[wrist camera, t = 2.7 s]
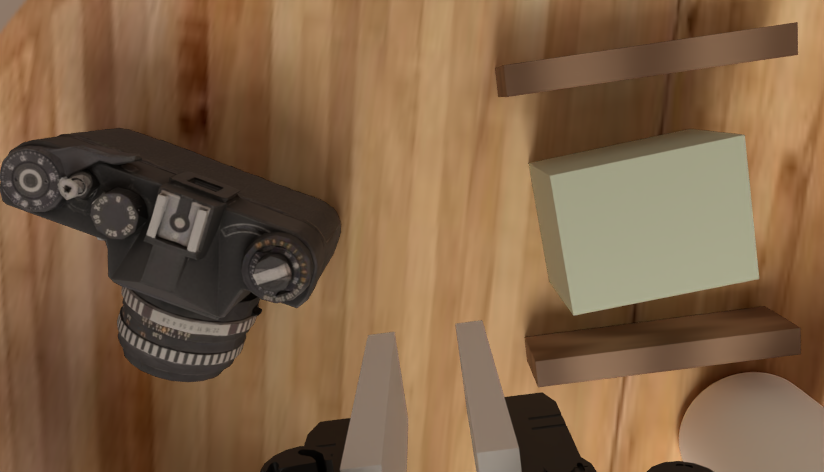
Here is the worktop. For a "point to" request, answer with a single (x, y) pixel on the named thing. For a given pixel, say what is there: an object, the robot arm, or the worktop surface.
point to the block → (646, 219)
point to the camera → (177, 240)
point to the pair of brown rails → (674, 337)
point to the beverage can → (754, 426)
